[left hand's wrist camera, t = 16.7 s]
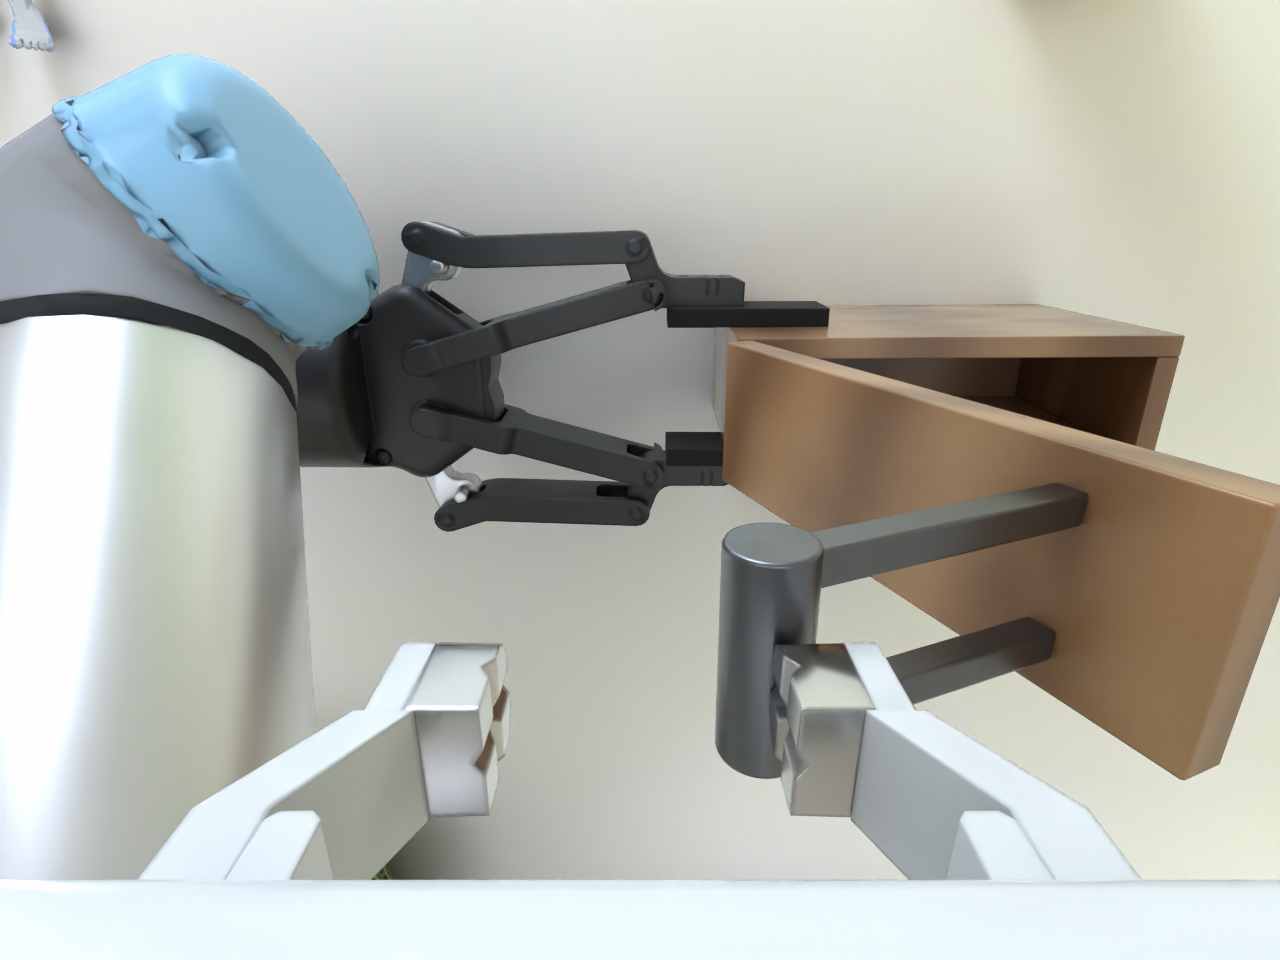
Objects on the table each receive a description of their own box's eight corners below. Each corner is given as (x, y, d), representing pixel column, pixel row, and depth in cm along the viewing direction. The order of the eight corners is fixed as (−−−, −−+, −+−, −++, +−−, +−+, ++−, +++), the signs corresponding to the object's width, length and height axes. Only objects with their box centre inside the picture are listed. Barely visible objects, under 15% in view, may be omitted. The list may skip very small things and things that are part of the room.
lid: (1318, 494, 11) (869, 612, 8) (1220, 765, 12) (829, 949, 9) (751, 340, 25) (519, 359, 22) (745, 476, 27) (530, 510, 24)
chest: (1038, 304, 34) (1185, 335, 25) (1019, 406, 36) (1149, 472, 27) (715, 306, 35) (737, 338, 25) (712, 407, 37) (732, 472, 27)
